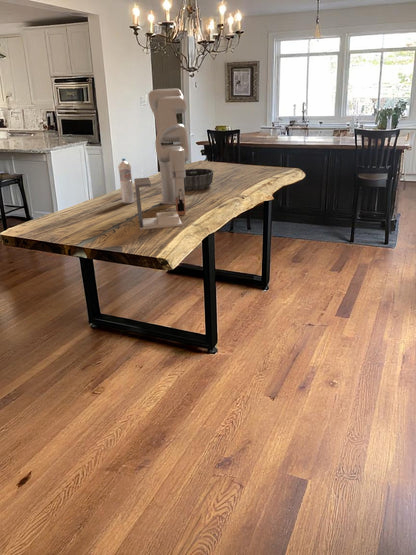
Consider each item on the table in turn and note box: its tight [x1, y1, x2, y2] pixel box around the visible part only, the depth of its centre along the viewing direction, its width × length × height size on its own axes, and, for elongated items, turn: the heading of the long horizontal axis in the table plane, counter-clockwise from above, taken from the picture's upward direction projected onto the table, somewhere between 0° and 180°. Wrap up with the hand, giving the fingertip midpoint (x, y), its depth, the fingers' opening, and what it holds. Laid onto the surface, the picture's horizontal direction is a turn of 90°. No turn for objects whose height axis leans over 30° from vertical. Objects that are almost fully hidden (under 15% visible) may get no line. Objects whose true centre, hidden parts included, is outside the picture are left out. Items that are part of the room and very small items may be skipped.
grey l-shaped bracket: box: [133, 177, 152, 229], centre depth 221 cm, size 15×7×20 cm, turn 10°
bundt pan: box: [184, 168, 215, 191], centre depth 295 cm, size 26×26×10 cm
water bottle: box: [118, 157, 135, 205], centre depth 263 cm, size 7×7×25 cm
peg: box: [174, 196, 186, 216], centre depth 239 cm, size 4×4×9 cm
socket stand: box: [138, 210, 183, 231], centre depth 226 cm, size 15×20×4 cm
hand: (180, 209), depth 239 cm, fingers closed on peg, 4 cm apart
